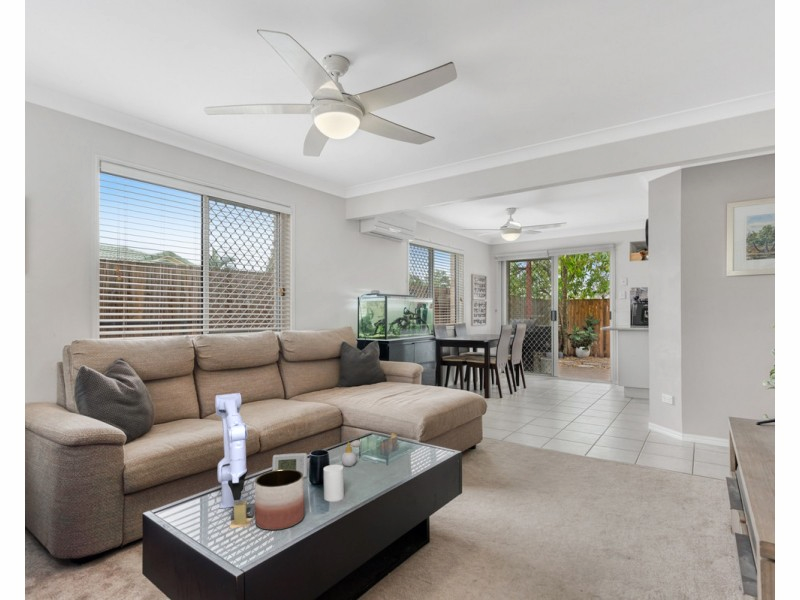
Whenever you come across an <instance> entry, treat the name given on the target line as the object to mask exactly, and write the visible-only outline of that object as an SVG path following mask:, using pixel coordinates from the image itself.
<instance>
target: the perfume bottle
mask: <svg viewBox="0 0 800 600" xmlns="http://www.w3.org/2000/svg"><path fill="white" fill-rule="evenodd" d="M346 445H347V446H346V447H345V452H343V454H342V455H341V463H342V466H343V465H344V466H346V467H353V466H354V465H355V463H356V462H357V455H356V453H355V452H354V451H353V450H352V447H353V448H359V447H361V445H362V441H361V440H360V439H358V440H357V439H355V440H353V441H352V442H351V443H350V441H348V442H347V444H346Z"/></svg>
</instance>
